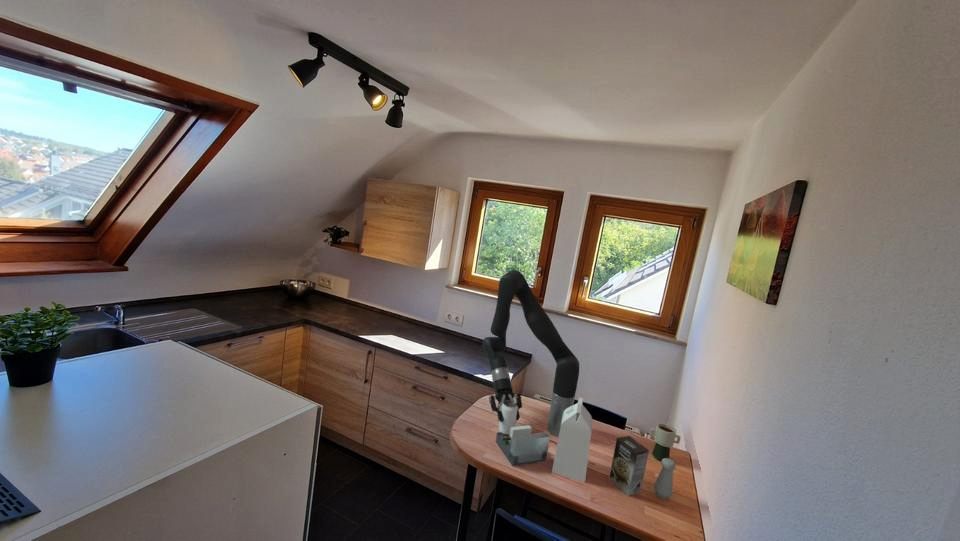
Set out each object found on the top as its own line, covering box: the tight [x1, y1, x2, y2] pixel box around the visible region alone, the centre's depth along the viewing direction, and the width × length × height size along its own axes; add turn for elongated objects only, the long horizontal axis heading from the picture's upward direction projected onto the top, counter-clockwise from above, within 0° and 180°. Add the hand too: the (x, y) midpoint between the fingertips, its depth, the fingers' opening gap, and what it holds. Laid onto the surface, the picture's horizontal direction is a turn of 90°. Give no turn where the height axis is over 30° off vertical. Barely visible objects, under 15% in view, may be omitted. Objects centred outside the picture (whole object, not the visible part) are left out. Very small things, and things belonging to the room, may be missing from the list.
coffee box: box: [608, 435, 650, 497], centre depth 134 cm, size 9×6×16 cm
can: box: [498, 400, 517, 436], centre depth 159 cm, size 6×6×12 cm
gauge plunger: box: [502, 424, 533, 445], centre depth 148 cm, size 12×2×8 cm, turn 112°
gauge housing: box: [495, 431, 551, 467], centre depth 148 cm, size 14×15×10 cm
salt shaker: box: [653, 458, 676, 500], centre depth 132 cm, size 6×6×13 cm
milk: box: [551, 397, 593, 483], centre depth 140 cm, size 12×12×26 cm
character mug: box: [649, 422, 681, 461], centre depth 154 cm, size 11×7×13 cm, turn 68°
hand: (509, 420), depth 158 cm, fingers closed on can, 6 cm apart
